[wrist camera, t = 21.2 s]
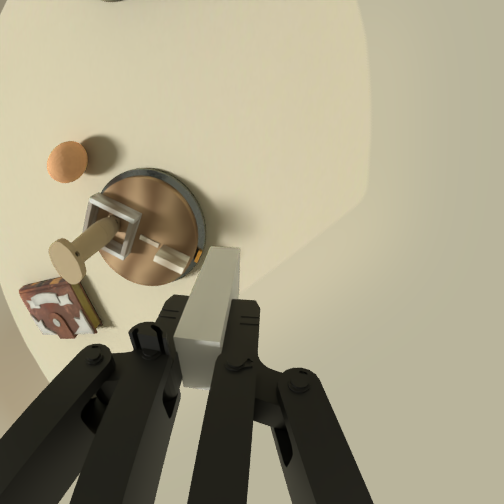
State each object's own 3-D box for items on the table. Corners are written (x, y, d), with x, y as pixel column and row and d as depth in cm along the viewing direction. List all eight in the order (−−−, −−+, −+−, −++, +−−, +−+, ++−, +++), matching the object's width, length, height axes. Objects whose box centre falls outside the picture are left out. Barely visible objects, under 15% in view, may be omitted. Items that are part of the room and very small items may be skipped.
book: (77, 271, 55) (65, 282, 50) (106, 325, 61) (97, 338, 56) (26, 283, 58) (15, 292, 54) (52, 328, 65) (43, 338, 60)
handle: (114, 200, 43) (60, 236, 30) (133, 232, 45) (87, 276, 32) (96, 213, 44) (44, 251, 31) (115, 243, 47) (69, 288, 33)
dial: (90, 252, 50) (74, 266, 45) (112, 158, 42) (94, 164, 36) (176, 296, 53) (167, 315, 48) (217, 205, 45) (209, 218, 39)
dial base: (93, 168, 44) (88, 169, 42) (208, 170, 44) (206, 172, 42) (104, 273, 54) (101, 277, 52) (205, 287, 53) (203, 292, 52)
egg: (95, 177, 45) (68, 190, 37) (66, 176, 45) (39, 188, 37) (96, 138, 41) (67, 144, 34) (66, 139, 41) (37, 146, 34)
